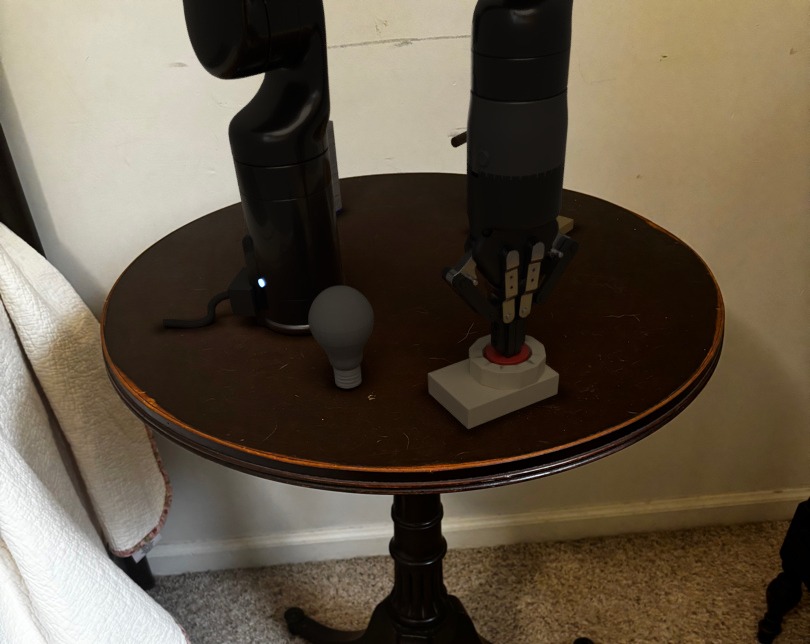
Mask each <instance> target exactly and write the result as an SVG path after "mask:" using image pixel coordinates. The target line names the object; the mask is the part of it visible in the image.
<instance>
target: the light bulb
mask: <svg viewBox="0 0 810 644" xmlns="http://www.w3.org/2000/svg"><path fill="white" fill-rule="evenodd" d="M308 322H309V327H310V330H311V335H312V337H313V339H314V340H315V341H316V342H317V344H318V345H319V346H320V348H322V350H323V351H324V352H325V353H326V356H327V359H328V362H329V363H330V365H331V367H332V368H333V374H334V375H333V376H334V382H335V385H336V386H337V387H339V388H342V389H353V388H356V387H358V386H359V385H361V383H362V380H363V379H362V370H361V364H362V362H363V358H364V349H365V347H366V345H367V343H368V341H369V340H370V338H371V335H372V334H373V330H374V325H375V314H374V310H373V307H372V305H371V303H370V301H369V300H368V299H367V298H366V297H365V295H363V293H361V292H360V291H359V290H357V289H356V288H354V287H352V286H348V285H347V286H346V285H344V286H333V287H330V288H327V289H325V290H324V291H322V292H321V293H320V294H319V295H318V296H317V297H316V299H315V300H314V301H313V303H312V305H311V308H310V311H309V316H308Z"/></svg>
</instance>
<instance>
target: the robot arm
mask: <svg viewBox="0 0 810 644" xmlns="http://www.w3.org/2000/svg"><path fill="white" fill-rule="evenodd" d="M181 2H182V8H183V17H184V23H185V27H186V32H187V36H188V38H189V42H190V44H191V48H192V50H193V53H194V55H195V58H196V59H197V60H198V62H199V64H200V65H201V66H202V68H203V69H204V70H205V71H206V72H207V73H208V74H209V75H211V76H212V77H214V78H217V79H218V80H224V81H233V80H235V81H236V80H241V79H246V78H251V77H255V76H257V75H258V76H259V75H262V74H264V75H263V80H262V82H261V84H260V86H259V88H258V90H257V91H256V92H255V94H254V95H253V97H252V98H250V101H248V102H247V103H246V104H245V105H244V106H243V107H242V108H241V109H240V110H239V111H237V113H235V114H234V116H233V117H232V118H231V119H230V121H229V124H228V127H227V135H228V142H229V147H230V152H231V156H232V161H233V167H234V173H235V177H236V181H237V187H238V192H239V197H240V203H241V208H242V213H243V217H244V219H243V220H244V223H245V229H246V233H245V234H244V235H243V236H242V238H241V248H242V252H243V253H242V254H243V258H244V263H245V266H242V267H241V269H240V270H239V272H238V273H237V274H236V276H235V278H234V279H233V280H232V281H231V283H230V285H229V286H228V287H227V290H225V291H222V292H219V293H217V294H216V295H213V297H212V298H211V299H210V300H209V301H208V303H207V307H206V310H207V312H206V316H204V317H202V318H200V319H196V320H184V319H176V318H175V319H174V318H163V319H162V324H163V325H162V326H163V327H164V328H180V329H200V328H204V327H207V326H208V325H210V324H211V323H212V322H213V321H214V320H215V319H216V310H217V309H216V307H217V306H218V305H219V304H221V303H222V302H223V301H226V300H229V302H230V307H231V311H232V315H233V316H240V317H255V318H256V323H257V326H264V327H267V328H269V329H271V330H273V331H274V332H277V333H280V334H285V335H286V334H287V335H294V336H295V335H296V336H297V335H298V336H299V335H300V336H301V335H310V334H311V335H312V333H311V330H310V327H309V322H308V316H309V311H310V308H311V305H312V303H313V301H314V300H315V299H316V297H317V296H318V295H319V294H320V293H321V292H322V291H324V290H325V289H327V288H330V287H333V286H348V284H347V276H346V275H345V274H344V272H343V271H344V270H343V263H342V254H341V253H342V252H341V245H340V236H339V235H340V234H339V227H338V219H337V215H336V207H335V198H334V189H333V180H332V172H331V163H330V154H329V145H328V136H327V128H328V123H329V120H330V117H331V92H330V91H331V89H330V75H329V62H328V61H329V59H328V58H329V57H328V41H327V39H328V37H327V25H326V13H325V6H324V0H182V1H181ZM573 7H574V0H477V2H476V3H475V5H474V10H473V13H472V19H471V25H470V26H471V27H470V44H469V45H470V64H469V65H470V75H469V76H470V77H469V79H470V80H469V81H470V83H469V85H470V89H469V102H468V103H469V104H468V110H467V118H466V131H467V143H466V215H467V218H468V220H467V221H468V225H469V229H468V234H467V236H466V239H465V241H464V245H463V246H464V247H463V248H464V254H463V255H462V257H461V258H460V259H459V260H458V262H457V263H456V264H455V265H454V267H453V266H452V265H446V266H445V267H444V268H443V269H442V270H441V274H440V277H441V279H442V280H443V281H444V282H445V283H446V284H447V285H448V287H450V289H452V291H453V292H454V293H455V294H456V295H457V296H458V297H459V298H460V299H461V300H462V301H463V302H464V303H465V304H466V306H468V308H469V309H470V310H471V311H472V312H474V313H475V314H478V315H479V316H480V317H482V318H483V319H484V321H485V322H487V323H489V324H490V334H491V345H492V347H493V348H494V349H495V350H496V351H497V352H499V353H500V354H501V355H502V356H504V357H505V358H508V357H511V356H514V355H516V354H519V353H521V346H523V345H524V342H525V337H526V335H527V318H528V316H529V315H530V313H531V310H532V308H534V307H535V306H536V305H538V306H542V305H544V304H545V303H546V302H547V301H548V299H549V298H550V296H551V294H552V293H553V291H554V289H555V287H556V286H557V285H558V283H559V282H560V280H561V278H562V277H563V275H564V274H565V272H566V270H567V268H568V267H569V266H570V264H571V262H572V260H573V259H574V257H575V256H576V254H577V252H578V251H579V249H580V243H579V242H578V241H577V240H575V239H574V238H572V237H570V236H568V235H566V234H563V233H561V232H559V224H558V221H557V219H556V218H557V217H558V215H559V216H560V213H561V211H562V202H563V191H564V178H565V167H566V155H567V154H566V153H567V143H568V131H569V102H568V100H569V99H568V98H569V97H568V92H569V91H568V89H569V87H568V86H569V77H570V66H571V65H570V64H571V53H572V52H571V51H572V37H573V36H572V35H573V9H574V8H573ZM476 270H477V271H478V272H479V273H480V274H481V276H482V277H483V278H482V281H483V287H484V289H485V290H486V297H485V295H484V294H483V292H481V291H480V290H479V288H478V287H477V285H478V284H479V281H478V275H477V274H476ZM544 276H545V277H544ZM543 277H544V278H543ZM542 278H543V280H542ZM541 280H542V282H541ZM540 282H541V284H540V285H539V283H540ZM538 285H539V286H538Z"/></svg>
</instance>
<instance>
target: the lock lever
mask: <svg viewBox="0 0 810 644" xmlns="http://www.w3.org/2000/svg"><path fill="white" fill-rule="evenodd" d="M450 144H451V146H452V147H453V148H454V149H456V148H459V147H461V146H463V145H465V144H467V130H465V131H463V132H461V133H459V134H457V135H455V136H452V137H451V139H450Z"/></svg>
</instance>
